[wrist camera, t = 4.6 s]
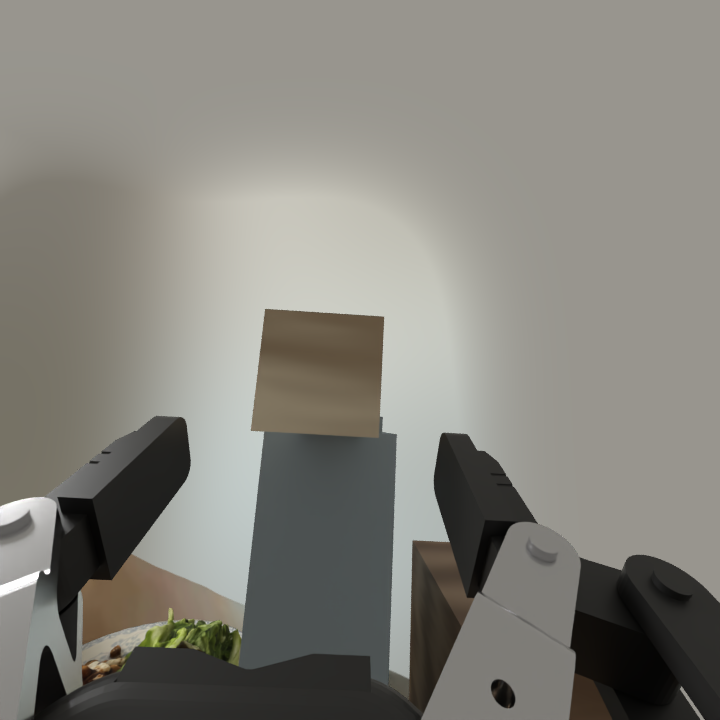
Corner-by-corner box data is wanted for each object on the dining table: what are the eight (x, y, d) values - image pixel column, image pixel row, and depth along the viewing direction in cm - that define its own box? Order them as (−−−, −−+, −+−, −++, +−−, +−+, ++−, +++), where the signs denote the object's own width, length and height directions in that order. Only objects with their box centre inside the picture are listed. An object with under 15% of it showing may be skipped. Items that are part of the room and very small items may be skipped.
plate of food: (238, 616, 56) (241, 576, 58) (298, 755, 33) (301, 683, 34) (8, 677, 42) (19, 622, 43) (-169, 995, 19) (-136, 859, 20)
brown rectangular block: (378, 438, 10) (383, 316, 11) (250, 430, 10) (265, 309, 11) (357, 429, 36) (359, 392, 37) (319, 427, 36) (322, 390, 37)
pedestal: (370, 1214, 14) (397, 417, 20) (178, 1214, 14) (266, 410, 20) (358, 774, 32) (374, 421, 38) (273, 772, 31) (304, 417, 38)
